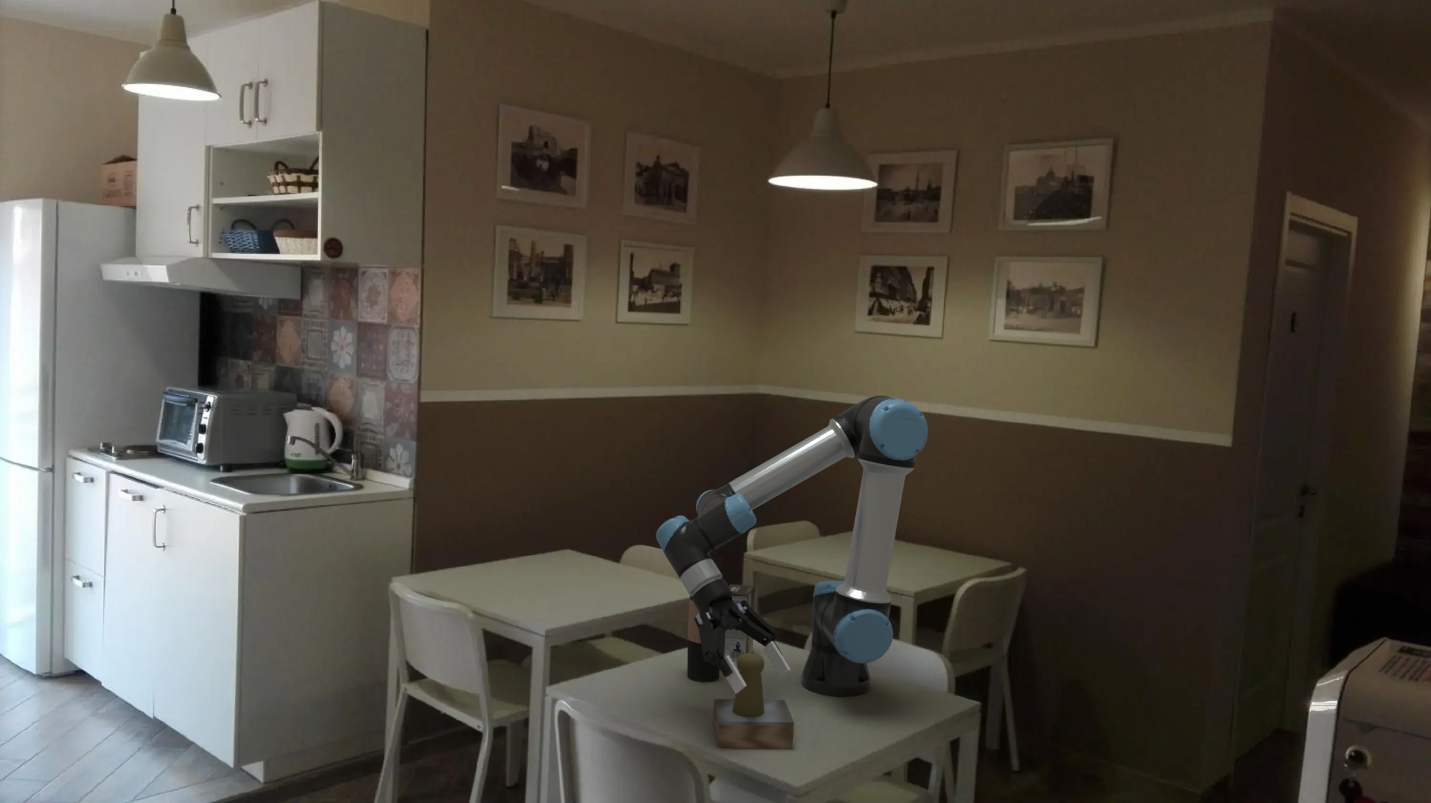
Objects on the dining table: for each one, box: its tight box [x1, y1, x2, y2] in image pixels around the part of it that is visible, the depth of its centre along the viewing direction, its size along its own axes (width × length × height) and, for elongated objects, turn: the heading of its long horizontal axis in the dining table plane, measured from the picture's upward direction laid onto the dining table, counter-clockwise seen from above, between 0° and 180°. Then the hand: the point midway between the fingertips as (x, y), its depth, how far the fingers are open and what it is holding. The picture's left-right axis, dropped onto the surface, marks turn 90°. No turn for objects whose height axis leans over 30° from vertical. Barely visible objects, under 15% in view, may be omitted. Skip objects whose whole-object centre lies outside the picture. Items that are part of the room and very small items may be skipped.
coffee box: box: [724, 584, 756, 662], centre depth 256 cm, size 9×6×16 cm
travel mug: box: [686, 595, 721, 683], centre depth 239 cm, size 8×8×20 cm
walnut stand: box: [712, 698, 795, 750], centre depth 207 cm, size 14×12×5 cm
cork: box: [732, 652, 765, 717], centre depth 205 cm, size 6×6×11 cm
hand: (764, 681), depth 204 cm, fingers open, 13 cm apart
